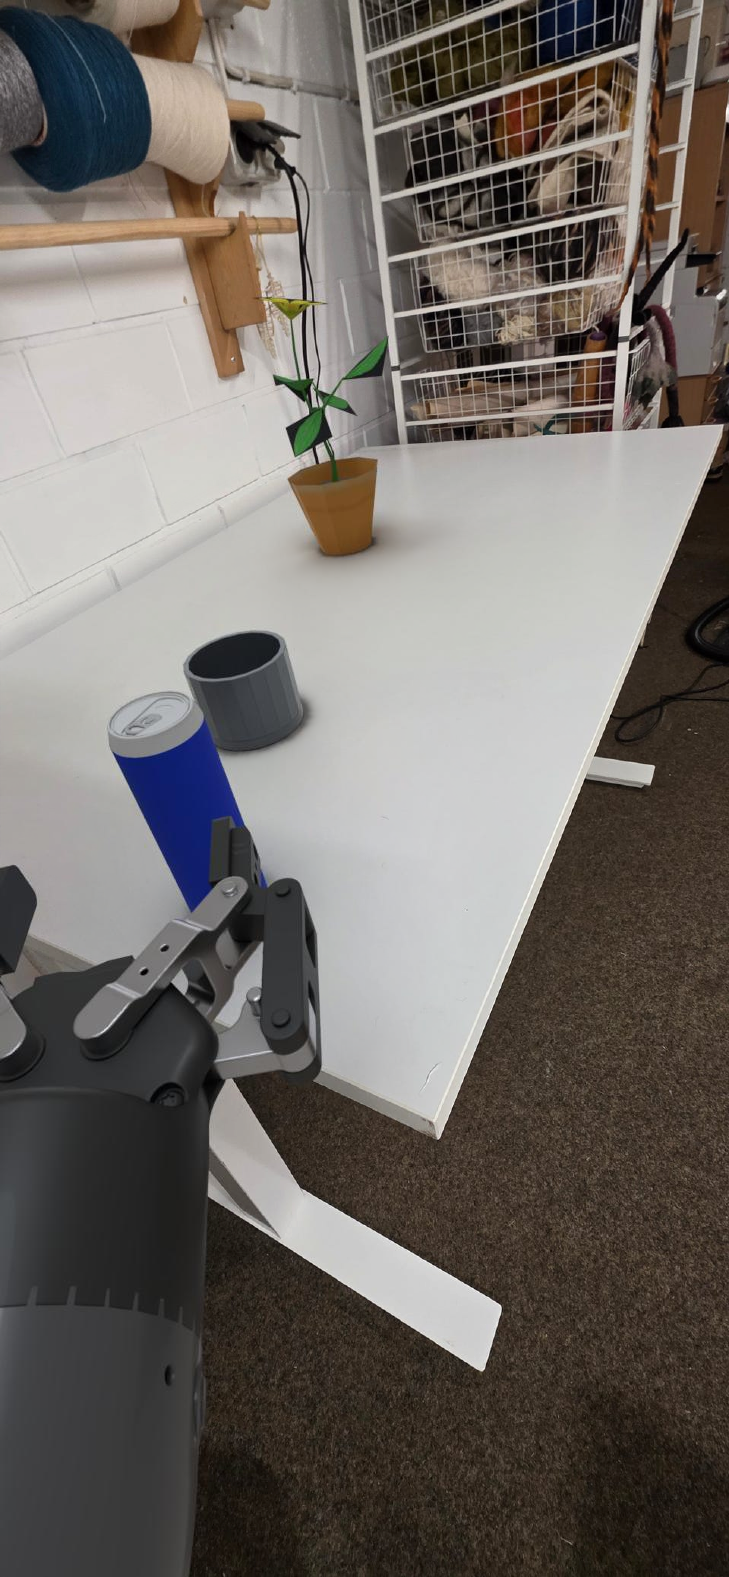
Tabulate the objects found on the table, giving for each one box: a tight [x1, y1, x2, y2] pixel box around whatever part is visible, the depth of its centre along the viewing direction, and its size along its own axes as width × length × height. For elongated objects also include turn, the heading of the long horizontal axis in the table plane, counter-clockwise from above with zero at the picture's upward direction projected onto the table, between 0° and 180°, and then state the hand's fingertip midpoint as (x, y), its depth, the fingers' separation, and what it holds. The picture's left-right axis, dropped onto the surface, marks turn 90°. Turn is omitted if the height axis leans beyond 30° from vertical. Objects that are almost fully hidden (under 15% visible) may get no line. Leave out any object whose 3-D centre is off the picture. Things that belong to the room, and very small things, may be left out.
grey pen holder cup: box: [182, 629, 304, 752], centre depth 60 cm, size 9×9×7 cm
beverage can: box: [106, 690, 268, 914], centre depth 40 cm, size 5×5×15 cm
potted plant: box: [253, 296, 390, 556], centre depth 87 cm, size 18×19×30 cm
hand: (123, 857), depth 27 cm, fingers open, 8 cm apart
